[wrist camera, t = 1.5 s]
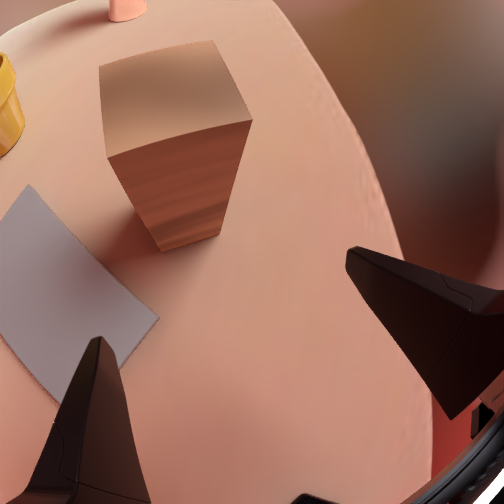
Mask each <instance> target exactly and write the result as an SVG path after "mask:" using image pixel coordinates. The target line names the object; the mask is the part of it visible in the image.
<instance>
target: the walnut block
mask: <svg viewBox="0 0 504 504" xmlns="http://www.w3.org/2000/svg"><path fill="white" fill-rule="evenodd" d="M99 81H100V98H101V110H102V121H103V130H104V139H105V146H106V154H107V159H108V160H109V162H110V164H111V166H112V168H113V170H114V172H115V174H116V175H117V177H118V179H119V181H120V183H121V185H122V186H123V188H124V190H125V192H126V194H127V195H128V197H129V199H130V201H131V202H132V204H133V206H134V208H135V209H136V211H137V213H138V215H139V216H140V218H141V220H142V221H143V223H144V225H145V226H146V228H147V230H148V231H149V233H150V235H151V236H152V238H153V240H154V241H155V243H156V244H157V246H158V248H159V249H160V251H161V253H163V252H166V251H169V250H172V249H175V248H178V247H181V246H184V245H187V244H190V243H193V242H196V241H199V240H203V239H206V238H209V237H212V236H215V235H218V234H220V231H221V227H222V224H223V220H224V216H225V213H226V209H227V205H228V202H229V198H230V195H231V191H232V187H233V184H234V180H235V177H236V174H237V170H238V167H239V163H240V160H241V156H242V153H243V150H244V146H245V143H246V140H247V136H248V133H249V130H250V127H251V123H252V120H253V119H252V117H251V115H250V113H249V111H248V108H247V106H246V104H245V102H244V100H243V98H242V96H241V94H240V92H239V90H238V88H237V86H236V84H235V82H234V80H233V78H232V76H231V74H230V72H229V70H228V68H227V66H226V64H225V62H224V60H223V58H222V57H221V55H220V53H219V51H218V49H217V47H216V45H215V43H214V41H213V40H211V41H204V42H197V43H191V44H185V45H179V46H174V47H169V48H164V49H160V50H155V51H151V52H147V53H143V54H139V55H135V56H132V57H128V58H125V59H121V60H118V61H115V62H112V63H109V64H105V65H103V66H100V67H99Z"/></svg>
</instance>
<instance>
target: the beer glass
mask: <svg viewBox="0 0 504 504" xmlns="http://www.w3.org/2000/svg"><path fill="white" fill-rule="evenodd" d="M146 10H147V6H146V2H145V0H109V19H110V20H111V21H113V22H123V21H128V20H132V19H135V18H137V17H139V16H141V15H142V14H144V13H145V12H146Z"/></svg>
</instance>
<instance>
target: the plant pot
mask: <svg viewBox="0 0 504 504" xmlns="http://www.w3.org/2000/svg"><path fill="white" fill-rule="evenodd" d="M15 81H16V75H15V72H14V69H13V67H12V65H11V63H10V61H9V59H8V57H7V56H6V54H4V53H2V52H0V157H1V156H3V155H4V154H6V153H7V152H8V151H9V150H10V149H11V148H12V147H13V146H14V145H15V143H16V142H17V141H18V139H19V137H20V136H21V134H22V131H23V129H24V125H25V119H24V115H23V113H22V110H21V107H20V103H19V100H18V97H17V94H16V90H15V86H14V84H15Z"/></svg>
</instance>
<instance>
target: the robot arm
mask: <svg viewBox="0 0 504 504" xmlns="http://www.w3.org/2000/svg"><path fill="white" fill-rule="evenodd" d="M345 268H346V272H347V274H348V275H349V277H350V278H351V280H352V281H353V283H354V284H355V286H356V288H357V289H358V291H359V292H360V294H361V296H362V297H363V299H364V300H365V302H366V303H367V304H368V306H369V307H370V309H371V310H372V311H373V312H374V314H375V315H376V316H377V318H378V319H379V320H380V321H381V323H382V324H383V325H384V327H385V328H386V329H387V331H388V332H389V333H390V335H391V336H392V337H393V339H394V340H395V341H396V343H397V344H398V345H399V347H400V348H401V350H402V351H403V352H404V354H405V355H406V356H407V358H408V359H409V361H410V362H411V363H412V365H413V366H414V368H415V369H416V370H417V372H418V373H419V375H420V376H421V378H422V379H423V380H424V382H425V384H426V385H427V386H428V388H429V389H430V391H431V392H432V394H433V395H434V397H435V398H436V400H437V401H438V403H439V404H440V406H441V407H442V409H443V410H444V412H445V413H446V415H447V416H448V418H449V419H450V420H453V419H454V418H455V417H456V416H457V415H459V414H460V413H461V412H462V411H463V410H464V409H465V408H466V407H467V406H468V405H470V404H471V403H472V402H473V401H474V400H475V399H476V398H477V397H479V399H480V400H481V402H480V404H478V406H477V407H476V408H475V409H474V410H473V411H472V422H471V436H470V437H471V439H472V441H471V442H470V443H469V444H468V445H467V447H466V448H465V449H464V450H463V451H462V452H461V453H460V454H459V455H458V456H457V457H456V458H455V459H454V460H453V461H451V463H449V464H448V465H447V466H446V467H445V468H444V469H443V470H442V471H441V472H440V473H438V474H437V475H436V476H435V477H434V478H433V479H431V480H430V481H429V482H428V483H427V484H425V485H424V486H423V487H422V488H420V489H419V490H418V491H417V492H415V493H414V494H413V495H411V496H410V497H409V498H407V499H406V500H405V501H403V502H402V503H400V504H447V503H449V504H504V290H495V289H491V288H487V287H483V286H480V285H477V284H473V283H470V282H466V281H463V280H459V279H456V278H453V277H450V276H447V275H444V274H441V273H440V274H439V273H438V272H436V271H433V270H430V269H427V268H424V267H421V266H418V265H415V264H412V263H409V262H406V261H403V260H400V259H397V258H394V257H391V256H388V255H384V254H381V253H378V252H375V251H372V250H369V249H366V248H362V247H359V246H355V247H353V248H350V249H348V251H347V255H346V264H345ZM54 422H55V423H53V425H52V428H51V431H50V433H49V436H48V438H47V441H46V444H45V446H44V448H43V451H42V453H41V456H40V458H39V460H38V462H37V465H36V467H35V470H34V472H33V474H32V477H31V479H30V482H29V484H28V486H27V487H26V489H25V490H24V491H23V492H22V493H21V494H20V495H19V496H17V497H16V498H14V499H12V500H11V501H9V502H8V503H6V504H151V500H150V497H149V494H148V491H147V488H146V485H145V481H144V478H143V474H142V471H141V467H140V463H139V459H138V455H137V451H136V447H135V443H134V438H133V434H132V429H131V424H130V419H129V413H128V408H127V402H126V397H125V392H124V388H123V384H122V380H121V377H120V373H119V368H118V364H117V360H116V355H115V353H114V351H113V349H112V348H111V346H110V345H109V344H108V342H107V341H106V340H105V338H104V337H103V336H97V337H94V338H92V339H91V340H90V341H89V343H88V345H87V347H86V349H85V351H84V353H83V356H82V358H81V360H80V362H79V364H78V366H77V368H76V370H75V373H74V375H73V377H72V379H71V381H70V384H69V386H68V388H67V391H66V393H65V395H64V398H63V400H62V403H61V405H60V407H59V410H58V412H57V415H56V418H55V420H54ZM305 497H306V498H305ZM303 498H304V499H303ZM292 504H338V503H335V502H331V501H328V500H325V499H322V498H319V497H315V496H313V495H310V494H306V493H305V494H302V495H301V496H300V497H299V498H298V499H297V500H296V501H295V502H293V503H292Z"/></svg>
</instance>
